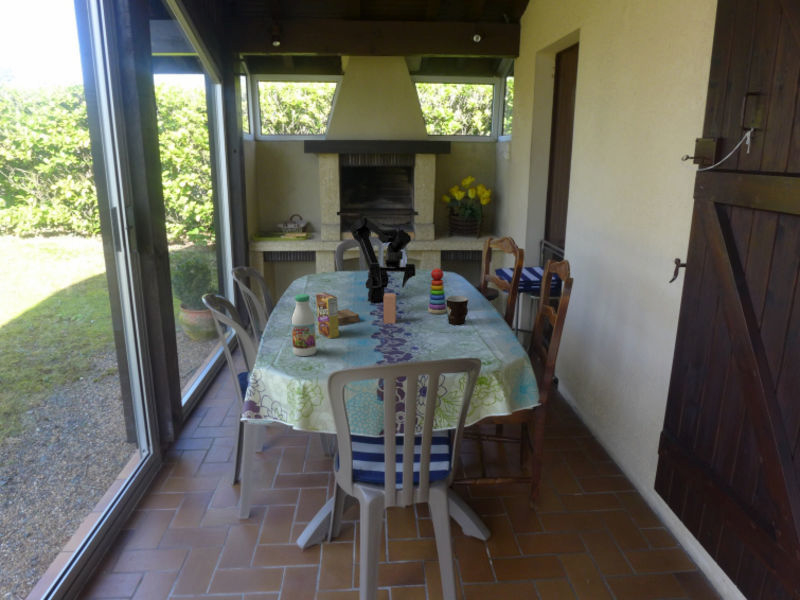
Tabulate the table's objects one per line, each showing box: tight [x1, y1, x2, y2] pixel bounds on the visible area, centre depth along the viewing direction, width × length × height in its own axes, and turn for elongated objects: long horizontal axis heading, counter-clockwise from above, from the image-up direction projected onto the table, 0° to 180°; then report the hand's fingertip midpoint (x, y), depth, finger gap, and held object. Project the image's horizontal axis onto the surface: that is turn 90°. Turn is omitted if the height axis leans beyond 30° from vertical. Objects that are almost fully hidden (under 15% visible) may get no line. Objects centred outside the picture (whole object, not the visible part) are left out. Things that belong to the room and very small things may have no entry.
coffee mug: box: [445, 295, 469, 326], centre depth 217 cm, size 12×9×10 cm
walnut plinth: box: [338, 308, 360, 327], centre depth 222 cm, size 10×10×3 cm
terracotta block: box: [383, 293, 397, 324], centre depth 220 cm, size 4×4×11 cm
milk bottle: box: [291, 293, 317, 357], centre depth 185 cm, size 8×8×20 cm
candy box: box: [315, 292, 340, 339], centre depth 204 cm, size 9×4×15 cm, turn 37°
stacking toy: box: [427, 268, 447, 315], centre depth 232 cm, size 8×8×19 cm
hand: (391, 287), depth 225 cm, fingers open, 9 cm apart
